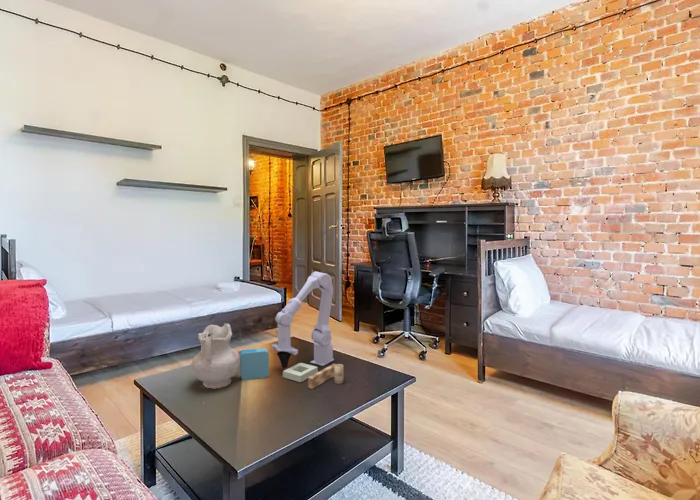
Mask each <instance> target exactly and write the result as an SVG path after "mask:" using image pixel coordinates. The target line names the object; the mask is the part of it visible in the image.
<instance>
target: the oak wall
mask: <svg viewBox="0 0 700 500" xmlns="http://www.w3.org/2000/svg"><path fill="white" fill-rule="evenodd" d="M336 364H337V363H332V364H331V365H328V366H327V367H325V368H323V369H321V370H320V371H319V370H318V372H317V373H315V374H314V375H312V376H310V377H308V379H307V380H308V381H307V382H308V383H307V385H308V387H307V388H308V389H311V390H314V388H316V387H319V386H320V385H321V384H324V383H326V381H328V380H329V381H330V380H331V379H333V378H334V365H336Z"/></svg>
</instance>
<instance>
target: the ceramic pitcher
mask: <svg viewBox="0 0 700 500" xmlns="http://www.w3.org/2000/svg"><path fill="white" fill-rule="evenodd" d="M231 326H232V325H231V324H230V323H226V322H224V323H223V325H222V326H219V325H217V324H209V325H207V326H206V327H205V328H204V330H203V332H199V333H198V334H197V339H198V341H199V343H200V346H201V347H200V351H198V353H196V355H195V356H194V357H193V358H192V361H191V363H190V365H191V366H190V367H191V371H192V373H193V375H194V377H195V378H196V379H198V381H201V382H202V384H203V385H204V386H205V387H207V388H206V389H208V388H212V390H213V389H215V390H216V388H218V389H221V388H224V387H227V386H230V384H232V383H231V382H232V377H234V376H235V375H236V374H237V373H238V371H239V368H240V367H241V364H240V353H239V352H238V351H237V350H235V349H234V348H232V347H231V346H230V344H231V338H232V336H233V331H232V328H231ZM203 385H202V386H203ZM204 386H203V387H204ZM205 387H204V388H205Z"/></svg>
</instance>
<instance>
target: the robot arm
mask: <svg viewBox="0 0 700 500" xmlns="http://www.w3.org/2000/svg"><path fill="white" fill-rule="evenodd" d="M332 281H333V277H331V276H330V275H329V274H328V273H326V272H325V273H324V272H321V271H320V272H319V271H312V273H311V274H310V275H309V276H308V277H307V280H306V282H305V283H304V285H303V287H302V288H301V289H300V291H299V292H298V293H297V295H296V296H295V297H292V298H290V299H289V300H288V301H287V302H288V303H287V304H286V305H285V306H284V308H282V309H281V311H279V312H277V314H276V316H275V322H276V323H277V344H276V343H274V344H271V350H276V351H277V352H276V355H277V357H278V359H279V361H280V364H281V367H282V368H283V369H286V368H287V367H288V364H289V361H290V357H291V356H292V355H294V356H296V355H298V354H299V349H298V348H297V349H296V348H295V347H293V346H292V345H291V344H292V343H291V341H292V340H291V335H292V334H291V324H292V323H293V320H294V318H295V317H294V316H295V315H296V314H297V313H298V311H299V310H300V308H301V307H302V302H303V300H305V298H306V297H307V296H308V295H309V294H310V293H311V292H312V291H313V290H316V289H319V291H321V296H320V303H319V307H318V317H317V323H316V324H315V325H314V327H313V330H312V332H311V335H310V336H311V339H312V341H313V360H310V362H309V363H310V364H314V365H319V366H322V367H324V366H325V365H327V364H329V363H331V362H333V361H335V358H334V352H333V351H334V348H333V345H332V343H331V342H332V333H331V332H332V330H331V328H330V326H329V324H330V317H331V316H330V315H331V309H332V304H333V303H332V302H333V296H334V295H333V294H334V286H333V282H332Z"/></svg>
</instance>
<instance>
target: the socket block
mask: <svg viewBox="0 0 700 500" xmlns="http://www.w3.org/2000/svg"><path fill="white" fill-rule="evenodd" d="M317 372H319V370H318V366H315V365H312V364H307V363H304V362H299V363H297V364H294V365H293V366H291V367H288V368H285V370H282V378H285V379H287V380H291V381H293V382H294V381H295V382H297V383H302V382H304V381H306V380H308V377H310V376H312V375H314V374H315V373H317Z"/></svg>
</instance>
